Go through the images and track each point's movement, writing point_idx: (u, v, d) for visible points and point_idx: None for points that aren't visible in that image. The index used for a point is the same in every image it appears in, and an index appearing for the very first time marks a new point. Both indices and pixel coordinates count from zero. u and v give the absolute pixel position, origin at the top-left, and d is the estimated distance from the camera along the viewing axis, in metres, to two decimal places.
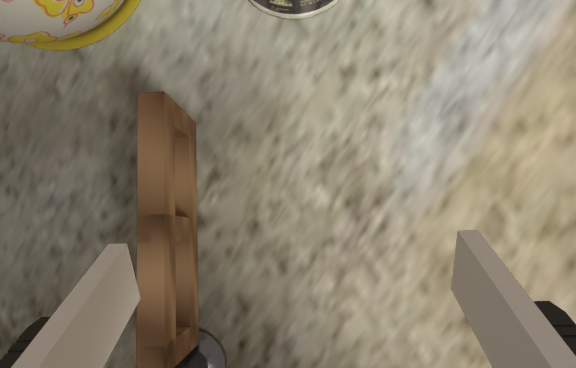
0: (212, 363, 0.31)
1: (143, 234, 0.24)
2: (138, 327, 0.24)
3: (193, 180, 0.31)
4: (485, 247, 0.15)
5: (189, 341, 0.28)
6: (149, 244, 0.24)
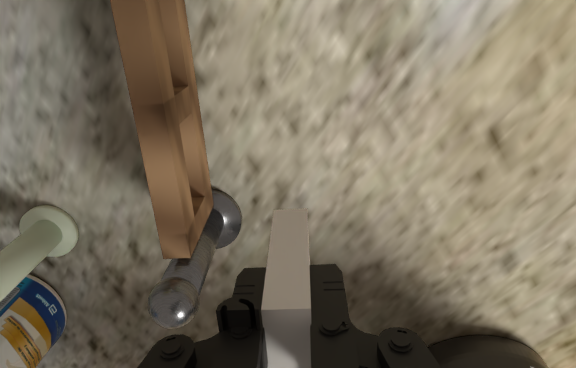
0: (228, 218, 0.32)
1: (143, 127, 0.21)
2: (157, 218, 0.23)
3: (186, 36, 0.25)
4: (303, 222, 0.17)
5: (206, 210, 0.28)
6: (153, 138, 0.21)
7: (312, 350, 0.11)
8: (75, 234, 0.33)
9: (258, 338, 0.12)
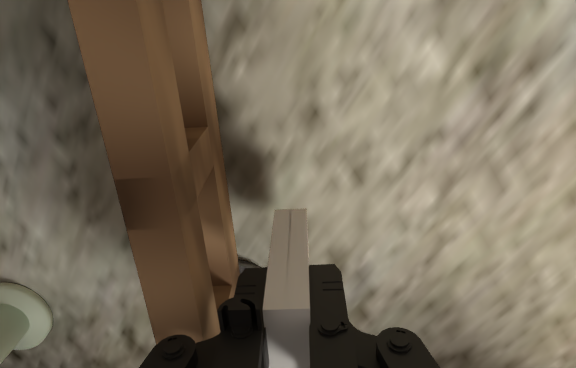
0: None
1: (136, 215, 0.12)
2: None
3: (203, 47, 0.16)
4: (302, 222, 0.17)
5: None
6: (153, 233, 0.12)
7: (311, 350, 0.11)
8: (47, 321, 0.24)
9: (259, 338, 0.12)
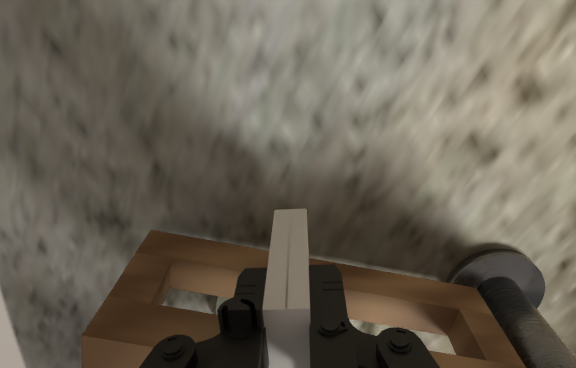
0: (526, 291, 0.22)
1: None
2: None
3: (243, 256, 0.20)
4: (302, 222, 0.17)
5: (480, 316, 0.19)
6: None
7: (311, 350, 0.11)
8: None
9: (259, 338, 0.12)
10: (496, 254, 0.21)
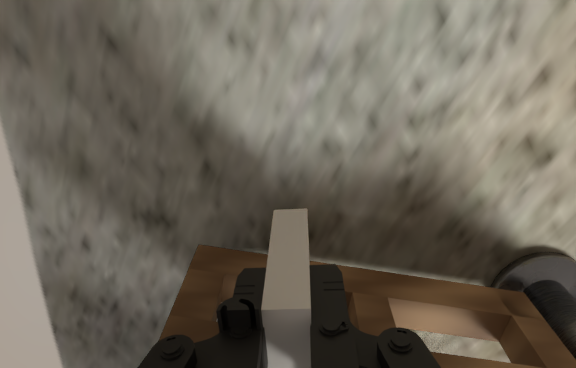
0: (573, 295, 0.22)
1: None
2: None
3: None
4: (302, 222, 0.17)
5: (533, 321, 0.19)
6: None
7: (312, 350, 0.11)
8: None
9: (258, 338, 0.12)
10: (545, 257, 0.21)
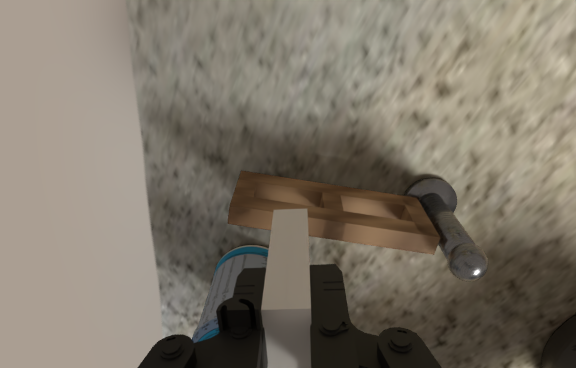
0: (447, 201, 0.40)
1: (337, 235, 0.32)
2: (401, 248, 0.33)
3: (291, 182, 0.37)
4: (302, 222, 0.17)
5: (415, 207, 0.37)
6: (345, 232, 0.32)
7: (312, 350, 0.11)
8: None
9: (258, 338, 0.12)
10: (429, 179, 0.39)
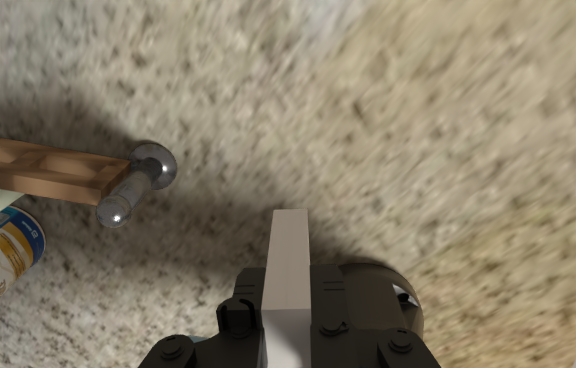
0: (166, 166, 0.43)
1: (9, 186, 0.36)
2: (70, 200, 0.36)
3: (7, 142, 0.41)
4: (302, 222, 0.17)
5: (115, 167, 0.40)
6: (16, 184, 0.36)
7: (312, 350, 0.11)
8: None
9: (258, 338, 0.12)
10: (145, 144, 0.43)
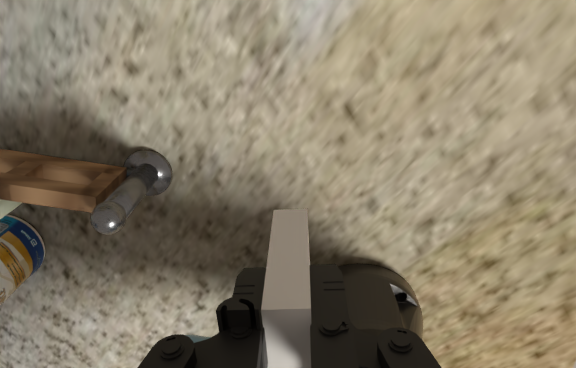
0: (161, 171, 0.44)
1: (5, 196, 0.36)
2: (66, 207, 0.37)
3: (4, 152, 0.41)
4: (303, 222, 0.17)
5: (110, 175, 0.41)
6: (12, 193, 0.36)
7: (312, 350, 0.11)
8: None
9: (258, 338, 0.12)
10: (140, 151, 0.43)
